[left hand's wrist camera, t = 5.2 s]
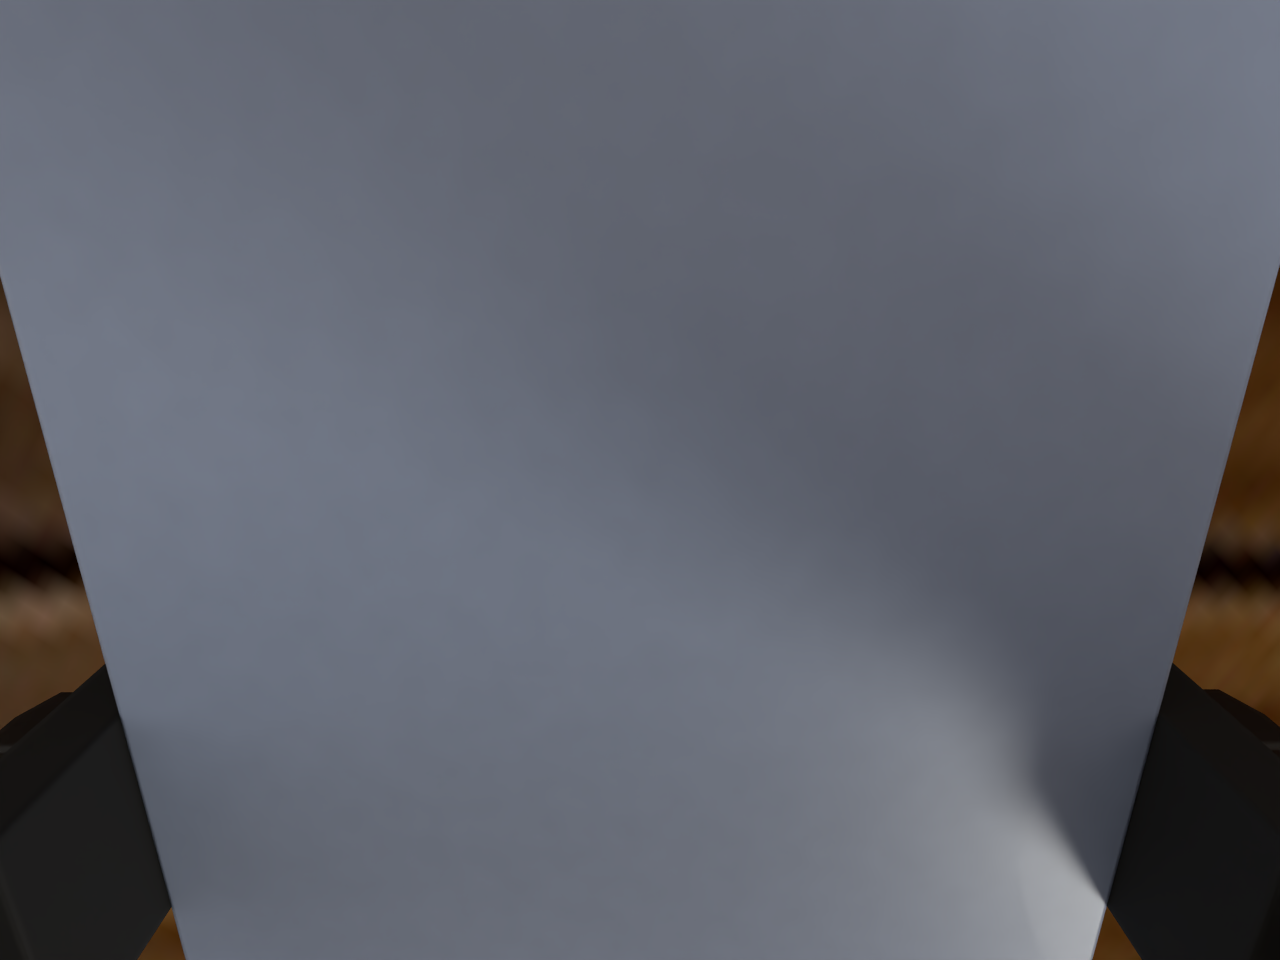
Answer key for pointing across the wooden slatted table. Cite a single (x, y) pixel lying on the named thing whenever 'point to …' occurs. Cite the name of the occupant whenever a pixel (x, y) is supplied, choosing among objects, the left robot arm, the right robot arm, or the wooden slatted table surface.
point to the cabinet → (639, 450)
